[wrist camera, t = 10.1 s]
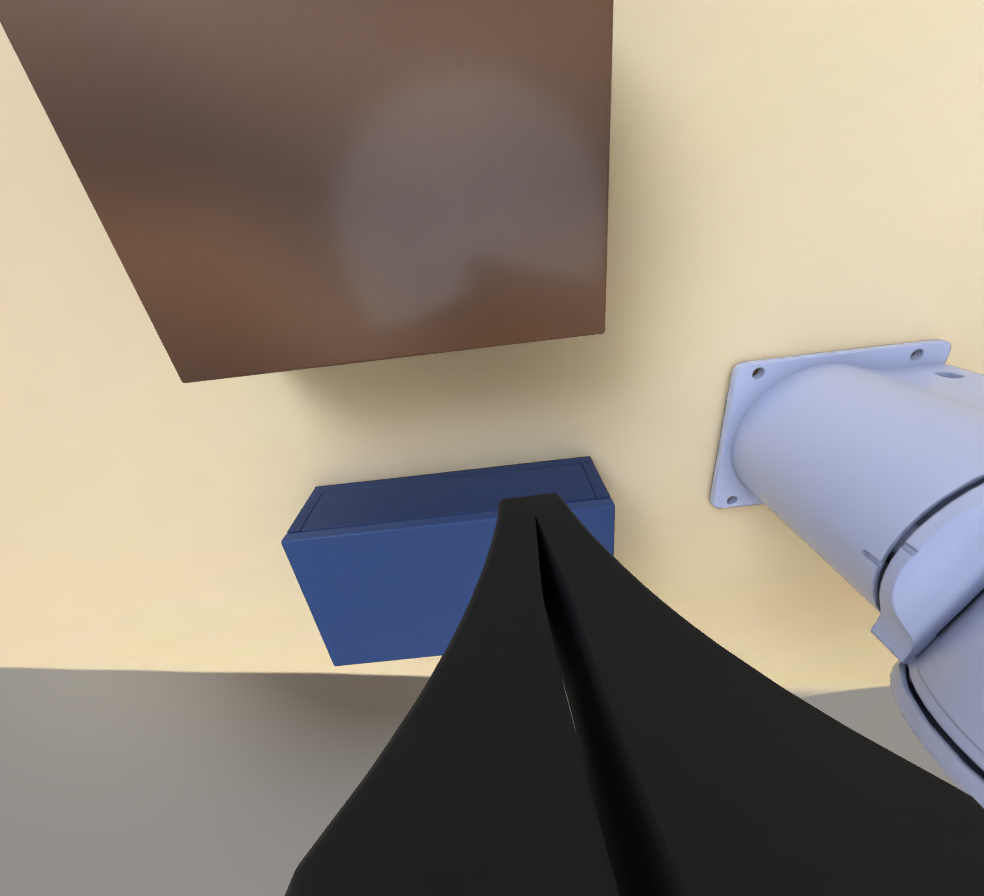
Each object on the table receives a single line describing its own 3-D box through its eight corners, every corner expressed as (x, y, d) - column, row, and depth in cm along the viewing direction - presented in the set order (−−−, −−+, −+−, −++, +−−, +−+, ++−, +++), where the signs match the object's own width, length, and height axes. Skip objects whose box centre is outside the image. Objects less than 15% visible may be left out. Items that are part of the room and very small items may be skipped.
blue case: (589, 567, 24) (606, 617, 21) (355, 592, 24) (337, 645, 21) (590, 455, 21) (610, 496, 17) (315, 486, 21) (286, 532, 18)
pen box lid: (-23, -71, 9) (-60, -93, 8) (609, -163, 8) (619, -193, 8) (195, 376, 14) (181, 384, 13) (599, 328, 13) (605, 334, 13)
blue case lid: (608, 628, 21) (611, 638, 20) (337, 656, 21) (334, 666, 21) (611, 497, 17) (615, 505, 17) (286, 532, 18) (280, 542, 17)
